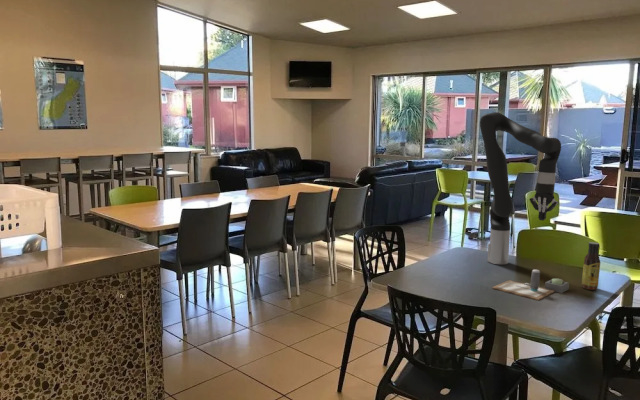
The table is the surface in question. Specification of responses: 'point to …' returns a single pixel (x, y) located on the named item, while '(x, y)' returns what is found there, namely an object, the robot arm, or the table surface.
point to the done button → (557, 281)
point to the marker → (535, 280)
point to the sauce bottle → (591, 267)
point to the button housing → (557, 286)
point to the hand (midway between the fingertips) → (541, 220)
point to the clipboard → (523, 290)
